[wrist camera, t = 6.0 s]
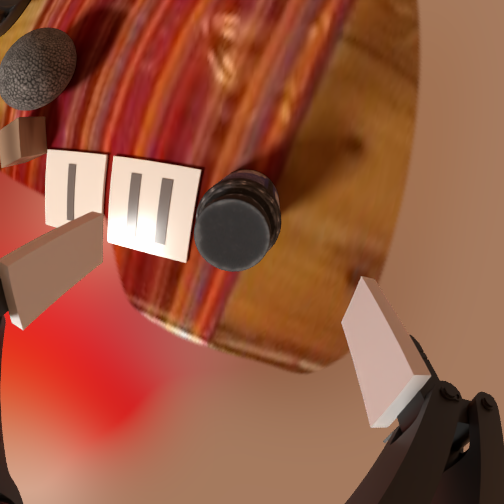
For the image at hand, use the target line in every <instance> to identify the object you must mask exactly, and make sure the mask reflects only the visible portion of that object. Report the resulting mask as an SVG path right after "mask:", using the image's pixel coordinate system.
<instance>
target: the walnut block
mask: <svg viewBox="0 0 504 504" xmlns="http://www.w3.org/2000/svg"><path fill="white" fill-rule="evenodd" d="M46 153H47V140H46V125H45V117H19V118H17V119H15V120H14V121H13V122H11V123H10V124H8V125H7V126H5V127H4V128H2V129H1V130H0V158H1V168H4V167H8V166H12V165H16V164H20V163H25V162H28V161H30V160H32V159H35V158H37V157H39V156H41V155H44V154H46Z"/></svg>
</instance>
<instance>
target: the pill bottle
mask: <svg viewBox="0 0 504 504" xmlns="http://www.w3.org/2000/svg"><path fill="white" fill-rule="evenodd" d="M280 229H281V213H280V204H279V196H278V192H277V189H276V187H275V186H274V184H273V182H272V181H271V180H270V179H269V178H268V177H267V176H265V175H264V174H262V173H260V172H257V171H255V170H238V171H235V172H232V173H231V174H229V175H228V176H226V177H225V178H224V179H222V180H221V181H220V182H218V183H217V184H215V185H214V186H213V187H212V188H210V189H209V190H208V191H207V192H206V193H205V194H204V196H203V197H202V199H201V201H200V202H199V205H198V208H197V213H196V223H195V228H194V240H195V244H196V247H197V249H198V251H199V252H200V254H201V255H202V257H203V258H204V259H205V260H206V261H207V262H209V263H210V264H211V265H213V266H215V267H216V268H219V269H222V270H225V271H232V272H233V271H243V270H246V269H249V268H251V267H253V266H254V265H256V264H257V263H259V262H260V261H261V259H262V258H263V257H264V256H265V254H266V253H267V251H269V250H270V248H271V247H272V246H273V245H274V244H275V242H276V240H277V238H278V235H279V233H280Z"/></svg>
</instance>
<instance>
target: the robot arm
mask: <svg viewBox="0 0 504 504" xmlns="http://www.w3.org/2000/svg"><path fill="white" fill-rule="evenodd" d="M29 1H30V0H0V36H2V35H3V34H4V33H5V32H6V31H7V30H8V29H9V28H10V27H11V26H12V25H13V24H14V22H15V21H16V20H17V19H18V17H19V16H20V15H21V13H22V12H23V10H24V9H25V8H26V6H27V5H28V3H29ZM102 262H103V214H102V213H97V212H93V211H92V212H89V213H87V214H85V215H83V216H81V217H78V218H76V219H74V220H72V221H70V222H68V223H66V224H64V225H62V226H60V227H58V228H56V229H54V230H52V231H50V232H48V233H46V234H44V235H42V236H40V237H38V238H36V239H34V240H33V241H31V242H29V243H27V244H25V245H23V246H21V247H20V248H18V249H16V250H14V251H12V252H11V253H9V254H7V255H6V256H4V257H2V258H0V377H1V358H2V347H3V337H4V330H5V323H6V322H5V317H4V314H5V313H6V312H7V311H9V314H10V318H11V321H12V323H13V324H15V325H16V326H18V327H19V328H21V329H22V330H24V329H25V328H26V327H27V326H28V325H29V324H30V323H31V322H32V321H33V320H35V319H36V318H37V317H38V316H39V315H40V314H41V313H42V312H43V311H45V310H46V309H47V308H48V307H49V306H50V305H51V304H53V303H54V302H55V301H56V300H57V299H58V298H59V297H61V296H62V295H63V294H64V293H65V292H66V291H68V290H69V289H70V288H71V287H73V286H74V285H75V284H76V283H77V282H78V281H80V280H81V279H82V278H83V277H85V276H86V275H87V274H88V273H90V272H91V271H92V270H93V269H95V268H96V267H97V266H98V265H100V264H101V263H102ZM341 323H342V326H343V329H344V332H345V336H346V339H347V342H348V345H349V349H350V352H351V356H352V359H353V362H354V366H355V369H356V373H357V377H358V380H359V384H360V388H361V391H362V395H363V399H364V403H365V407H366V411H367V415H368V419H369V423H370V427H388V426H389V425H390V424H391V423H392V422H393V421H394V420H395V419H396V418H398V421H399V426H398V427H397V428H396V429H395V430H394V431H393V432H392V433H391V434H390V435H389V436H388V437H387V438H386V439H385V440H384V441H383V442H384V443H385V442H386V441H388V442H387V444H386V446H385V447H384V449H383V451H382V452H381V454H380V455H379V457H378V459H377V460H376V462H375V463H374V465H373V466H372V468H371V469H370V471H369V472H368V474H367V475H366V477H365V478H364V479H363V481H362V482H361V483H360V485H359V486H358V488H357V489H356V490H355V491H354V493H353V494H352V495H351V497H350V498H349V499H348V500H347V502H346V503H345V504H504V443H503V435H502V427H501V421H500V415H499V410H498V406H497V403H496V402H495V400H494V398H493V397H491V395H490V394H487V393H485V392H479V393H478V394H477V395H476V396H475V397H474V398H473V399H472V401H469V400H465V399H462V397H461V395H460V392H459V391H458V390H457V388H456V387H454V386H453V385H452V384H451V383H448V382H446V381H440V380H439V378H438V377H437V374H436V373H435V371H434V369H433V367H432V365H431V364H430V362H429V360H427V356H426V355H425V353H423V349H422V347H421V346H420V344H419V343H418V342H417V341H416V339H414V337H412V336H411V335H409V334H408V332H407V330H406V329H405V327H404V325H403V324H402V322H401V320H400V319H399V317H398V315H397V314H396V312H395V310H394V309H393V307H392V305H391V304H390V302H389V301H388V299H387V298H386V296H385V294H384V293H383V291H382V290H381V288H380V287H379V285H378V283H377V282H376V280H375V279H371V278H367V277H363V276H361V278H360V281H359V283H358V286H357V288H356V290H355V293H354V295H353V297H352V300H351V302H350V304H349V306H348V309H347V311H346V313H345V315H344V318H343V320H342V322H341ZM0 379H1V378H0ZM469 442H470V446H469V449H468V450H467V451H466V452H463V447H464V446H465V445H466V444H467V443H469ZM0 504H23V502H22V498H21V496H20V493H19V491H18V488H17V486H16V485H15V483H14V481H13V480H12V478H11V476H10V474H9V472H8V468H7V463H6V457H5V450H4V443H3V434H2V423H1V404H0Z"/></svg>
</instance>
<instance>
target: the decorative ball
mask: <svg viewBox="0 0 504 504" xmlns="http://www.w3.org/2000/svg"><path fill="white" fill-rule="evenodd" d="M76 60H77V54H76V49H75V45H74V43H73V41H72V39H71V38H70V37H69V36H68V35H67V34H66V33H65V32H63V31H61V30H59V29H55V28H40V29H36V30H33V31H31V32H29V33H27V34H25V35H24V36H22V37H21V38H20V39H18V40H17V41H16V42H15V43H14V44H13V45H12V46H11V47H10V49H9V50H8V51H7V53H6V54H5V56H4V58H3V60H2V62H1V65H0V95H1V97H2V99H3V100H4V101H5V102H6V103H7V104H8V105H9V106H11V107H12V108H15V109H18V110H34V109H38V108H40V107H43V106H45V105H47V104H49V103H50V102H52V101H53V100H54V99H55V98H57V97H58V96H59V95H60V94H61V93H62V92H63V90H64V89H65V88H66V87H67V85H68V84H69V82H70V80H71V78H72V76H73V74H74V71H75V67H76Z"/></svg>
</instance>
